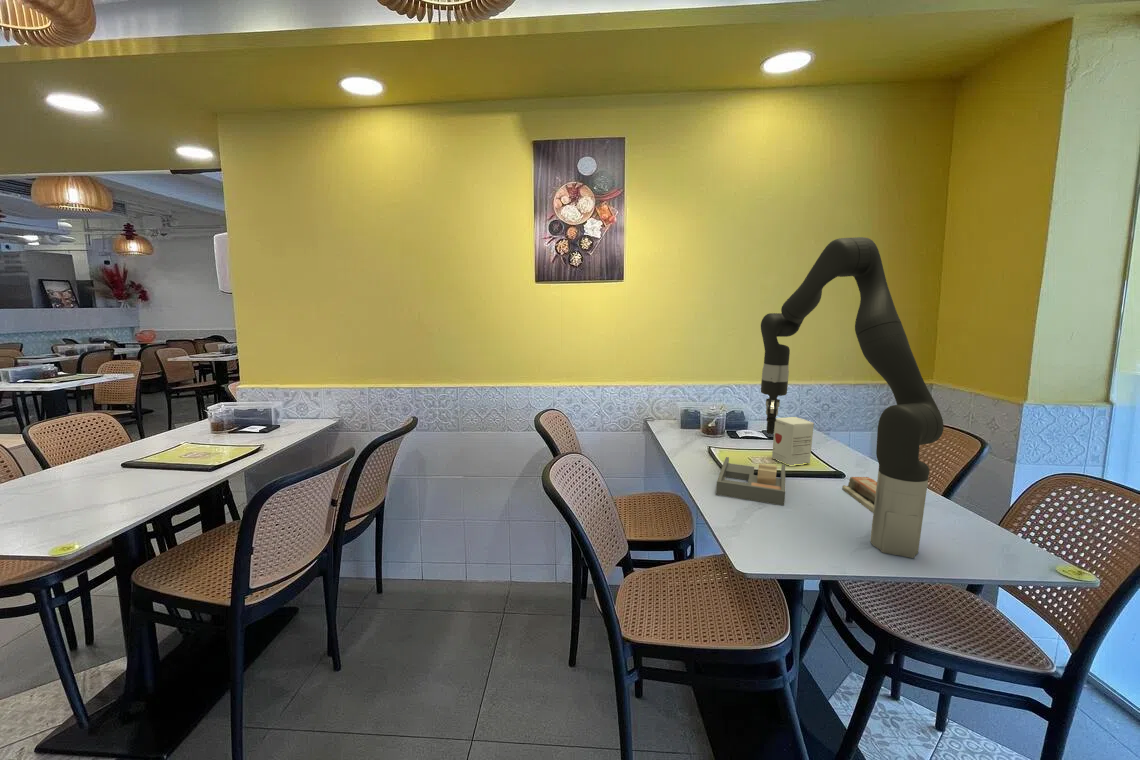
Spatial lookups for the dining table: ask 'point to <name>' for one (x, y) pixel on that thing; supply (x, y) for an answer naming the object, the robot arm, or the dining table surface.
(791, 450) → the supplement box
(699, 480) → the dining table surface
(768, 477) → the block
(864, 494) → the packaged product
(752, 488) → the box
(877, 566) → the dining table surface
